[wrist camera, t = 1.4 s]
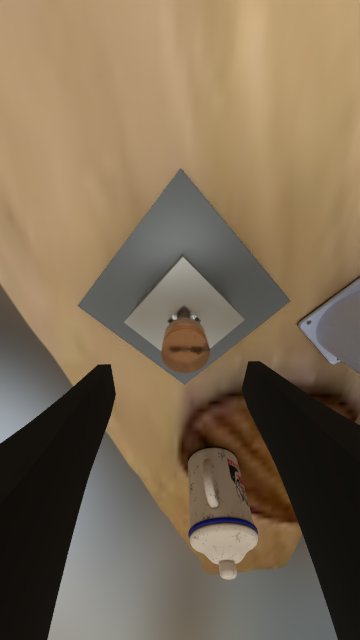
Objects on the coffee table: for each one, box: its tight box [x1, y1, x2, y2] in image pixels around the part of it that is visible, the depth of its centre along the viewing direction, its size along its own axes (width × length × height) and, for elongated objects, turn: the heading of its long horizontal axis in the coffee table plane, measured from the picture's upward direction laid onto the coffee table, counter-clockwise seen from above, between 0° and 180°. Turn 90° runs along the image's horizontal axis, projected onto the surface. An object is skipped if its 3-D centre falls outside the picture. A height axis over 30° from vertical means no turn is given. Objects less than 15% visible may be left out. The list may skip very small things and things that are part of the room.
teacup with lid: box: [188, 448, 258, 579], centre depth 25 cm, size 12×9×12 cm
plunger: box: [161, 305, 210, 373], centre depth 13 cm, size 5×5×6 cm
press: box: [78, 169, 290, 384], centre depth 16 cm, size 16×16×5 cm
